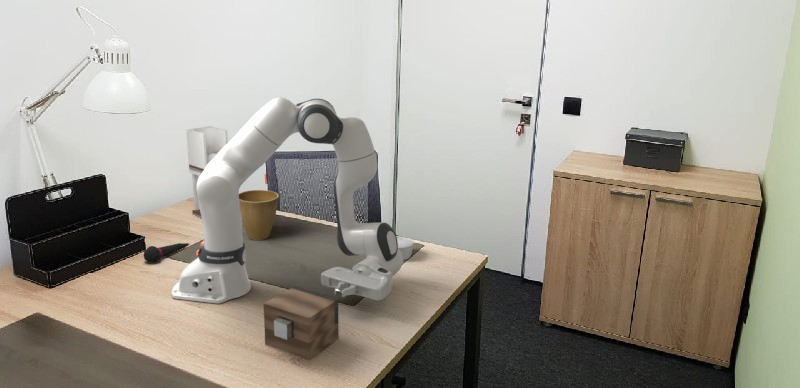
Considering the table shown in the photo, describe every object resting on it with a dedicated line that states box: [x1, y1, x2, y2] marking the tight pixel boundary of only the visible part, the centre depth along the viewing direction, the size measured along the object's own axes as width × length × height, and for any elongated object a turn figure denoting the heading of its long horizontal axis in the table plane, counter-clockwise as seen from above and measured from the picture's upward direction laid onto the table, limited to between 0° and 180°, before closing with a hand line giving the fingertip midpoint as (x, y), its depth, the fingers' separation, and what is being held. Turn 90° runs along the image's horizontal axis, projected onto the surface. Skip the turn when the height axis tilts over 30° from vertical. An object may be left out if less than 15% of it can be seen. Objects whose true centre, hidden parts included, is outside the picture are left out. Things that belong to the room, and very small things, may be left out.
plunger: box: [274, 317, 294, 340], centre depth 154 cm, size 14×4×4 cm, turn 150°
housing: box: [263, 285, 339, 361], centre depth 156 cm, size 12×14×11 cm
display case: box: [185, 126, 229, 219], centre depth 245 cm, size 11×11×35 cm
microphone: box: [143, 242, 190, 264], centre depth 209 cm, size 6×6×20 cm
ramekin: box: [396, 236, 415, 261], centre depth 213 cm, size 11×11×5 cm
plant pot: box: [239, 189, 279, 241], centre depth 226 cm, size 15×15×16 cm
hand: (338, 293), depth 168 cm, fingers closed
